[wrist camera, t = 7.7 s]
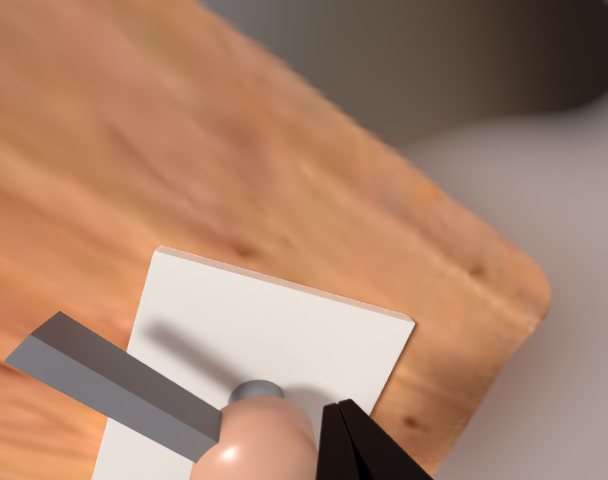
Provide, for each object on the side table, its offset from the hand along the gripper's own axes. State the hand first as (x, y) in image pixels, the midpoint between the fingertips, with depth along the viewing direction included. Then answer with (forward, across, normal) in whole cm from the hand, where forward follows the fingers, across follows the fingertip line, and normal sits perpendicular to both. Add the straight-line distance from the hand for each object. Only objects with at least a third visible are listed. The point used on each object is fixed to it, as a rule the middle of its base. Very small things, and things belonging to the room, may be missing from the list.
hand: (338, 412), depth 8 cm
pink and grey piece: (+7, +7, +5) cm, 11 cm away
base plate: (+12, +4, +9) cm, 15 cm away
